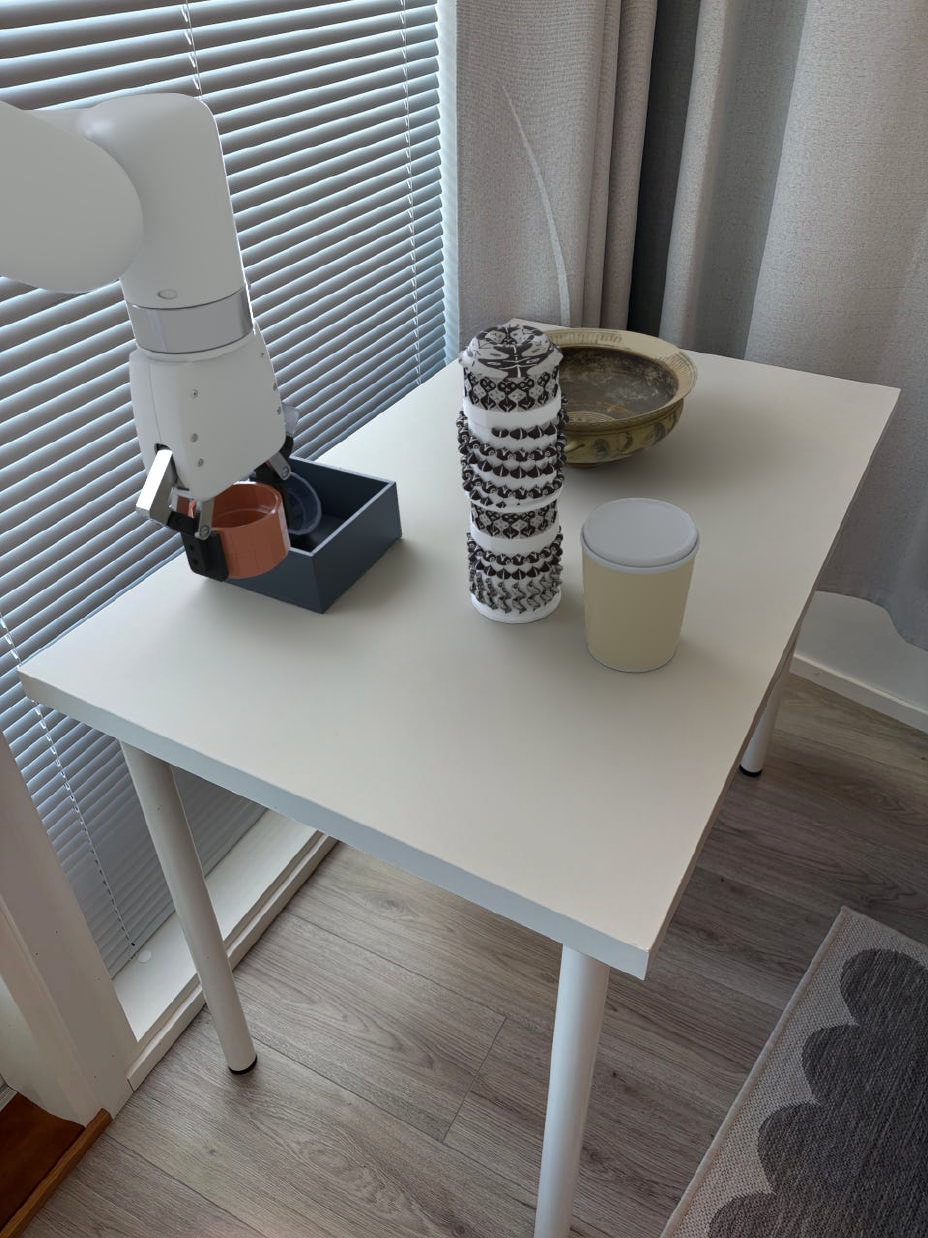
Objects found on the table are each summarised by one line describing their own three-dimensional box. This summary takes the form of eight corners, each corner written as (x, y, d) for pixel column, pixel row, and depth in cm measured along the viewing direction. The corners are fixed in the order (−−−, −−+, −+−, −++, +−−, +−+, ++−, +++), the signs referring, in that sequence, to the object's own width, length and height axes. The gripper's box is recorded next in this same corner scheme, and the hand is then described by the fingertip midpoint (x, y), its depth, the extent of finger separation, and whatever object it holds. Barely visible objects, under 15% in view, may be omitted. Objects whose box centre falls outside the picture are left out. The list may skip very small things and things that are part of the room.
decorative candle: (583, 582, 89) (591, 323, 73) (535, 638, 83) (533, 370, 68) (499, 556, 93) (490, 305, 78) (448, 607, 87) (427, 347, 72)
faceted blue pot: (239, 546, 92) (260, 527, 89) (236, 484, 95) (257, 463, 91) (301, 557, 96) (323, 539, 93) (296, 497, 99) (318, 478, 96)
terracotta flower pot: (204, 590, 69) (190, 538, 66) (197, 541, 74) (184, 490, 71) (297, 571, 70) (287, 519, 67) (284, 524, 75) (274, 474, 72)
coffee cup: (705, 633, 83) (721, 516, 75) (654, 695, 77) (666, 575, 69) (611, 597, 87) (617, 484, 80) (556, 653, 82) (557, 537, 74)
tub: (322, 614, 88) (311, 556, 83) (206, 576, 93) (191, 520, 89) (402, 536, 97) (396, 481, 93) (292, 506, 103) (282, 453, 98)
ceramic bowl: (653, 538, 94) (661, 449, 88) (433, 499, 102) (426, 415, 96) (712, 406, 115) (722, 326, 109) (527, 382, 123) (526, 306, 117)
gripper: (235, 267, 68) (276, 484, 79) (44, 358, 56) (124, 598, 67) (320, 280, 65) (350, 505, 76) (137, 380, 53) (204, 627, 64)
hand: (243, 547), depth 71 cm, fingers closed on terracotta flower pot, 6 cm apart
